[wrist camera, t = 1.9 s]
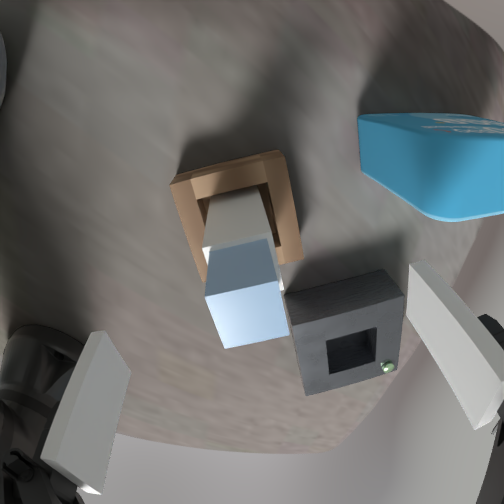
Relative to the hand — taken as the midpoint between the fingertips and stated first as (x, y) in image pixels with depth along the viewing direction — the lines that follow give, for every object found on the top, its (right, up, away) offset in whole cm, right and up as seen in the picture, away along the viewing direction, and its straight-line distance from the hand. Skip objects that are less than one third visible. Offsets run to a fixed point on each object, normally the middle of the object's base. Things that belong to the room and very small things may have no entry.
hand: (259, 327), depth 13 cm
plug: (-1, +6, +12) cm, 14 cm away
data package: (+14, +13, +11) cm, 22 cm away
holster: (-1, +6, +13) cm, 14 cm away
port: (+9, -4, +19) cm, 21 cm away
